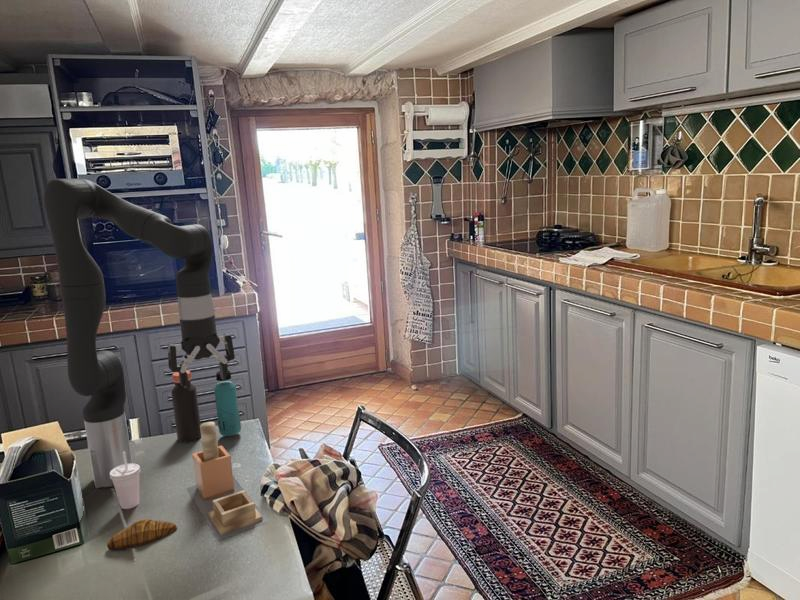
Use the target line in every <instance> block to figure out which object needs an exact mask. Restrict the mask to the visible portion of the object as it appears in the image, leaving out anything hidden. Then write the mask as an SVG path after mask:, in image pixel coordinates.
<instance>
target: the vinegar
mask: <svg viewBox="0 0 800 600" xmlns="http://www.w3.org/2000/svg"><path fill="white" fill-rule="evenodd" d="M186 372H187V376H188V384H189V388H186V389H185V388H184V386H182V385H181V384H180V379H179V372H172V381H173V384H174V387H173V389H172V390H171V391H170V392H171V394H170V395H171V400H172V401H171V402H172V408H173V414H174V415H173V416H174V422H175V431H176V437H177V440H178V441H179V442H180V443H188V442H189V443H190V441H191V442H194V441H197V440H199V439H200V438H201V431H200V425H201V424H202V423H201V418H200V417H201V416H200V409H199V399H198V393H197V387H196V386H195V385H193V383H192V374H191V370H186ZM198 438H199V439H198Z"/></svg>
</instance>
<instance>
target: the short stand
mask: <svg viewBox="0 0 800 600" xmlns="http://www.w3.org/2000/svg"><path fill="white" fill-rule="evenodd" d="M244 490H245V489H244ZM244 490H243V491H240V492H237V493H234V494H231V495H228V496H225V497H222V498H219V499H216V500H213V507H214V511H211V512H208V513H209V517H210V518H211V520H212V522H213V523H214V525H215V527H216V528H217V530H218V531H219V533H220V535H223V534H226V533H228V532H231V531H234V530H236V529H239V528H242V527H245V526H247V525H250V524H253V523H255V522H258V521H261V520H262V516H261V514H260V513H259V512H258V511H257V509H256V508H255V504H256V503H255V502H253V501H254V500H253V499H252V498H251V496H250V495H249V494H248V493H247V491H246V492H245V491H244ZM247 494H248V495H249V496H250V497H249V496H248V495H247ZM251 499H252V500H253V501H252V500H251Z"/></svg>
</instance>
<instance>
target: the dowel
mask: <svg viewBox="0 0 800 600" xmlns="http://www.w3.org/2000/svg"><path fill="white" fill-rule="evenodd" d="M200 424H201V425H200V431H201V437H200V438H201V446H202V447H201V448H202V451H203V454H204V462H206V461H209V460H213V459H216V458H219V451H218V446H219V445H218V436H217V428H216V422H214V421H207V422H203V423H200Z"/></svg>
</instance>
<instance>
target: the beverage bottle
mask: <svg viewBox="0 0 800 600" xmlns="http://www.w3.org/2000/svg"><path fill="white" fill-rule="evenodd" d="M215 376H216V377H215V379H216V381H218V382H217V383H216V384H215V385H214V387H213V390H214V399H215V400H214V401H215V403H214V404H215V407H216V416H217V418H216V420H217V427H218V433H220V435H221V436H225V437H226V436H227V437H228V436H234V435H236V434H238V433H240V432H241V430H242V424H241V415H240V409H239V408H240V407H239V402H238V392H237V384H236V383H235V382H233V381H232V380H231V379H232V374H231V371H230V370H228V376H227V377H226V379H224V380H223V379H221V377H220V370H219V371H217V372H216V375H215Z"/></svg>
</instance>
